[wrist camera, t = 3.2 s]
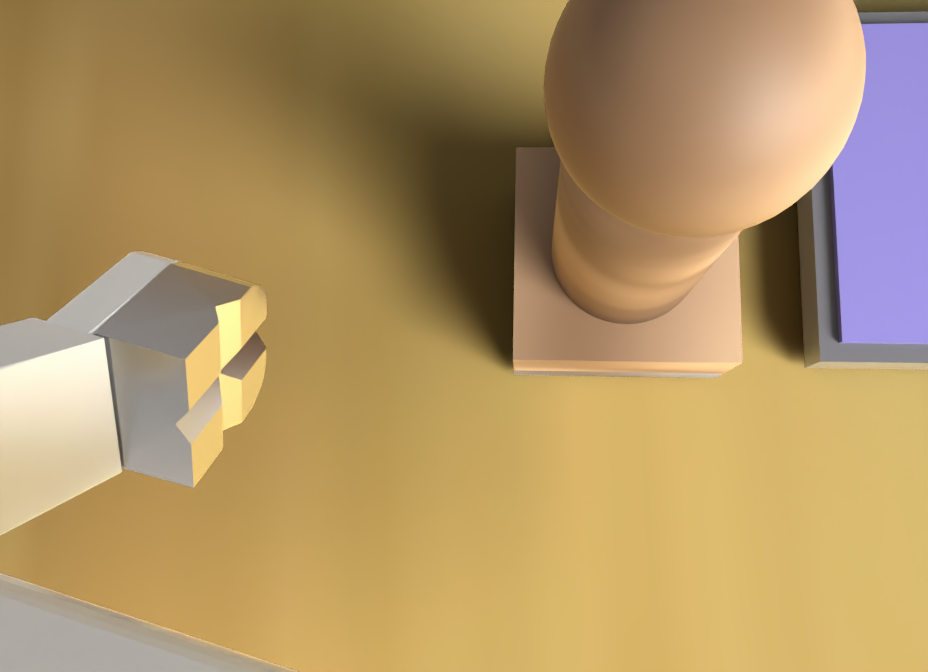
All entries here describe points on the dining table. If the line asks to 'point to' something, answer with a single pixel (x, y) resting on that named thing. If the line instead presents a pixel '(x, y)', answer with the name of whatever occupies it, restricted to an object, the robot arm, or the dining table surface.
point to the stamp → (669, 174)
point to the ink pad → (873, 216)
